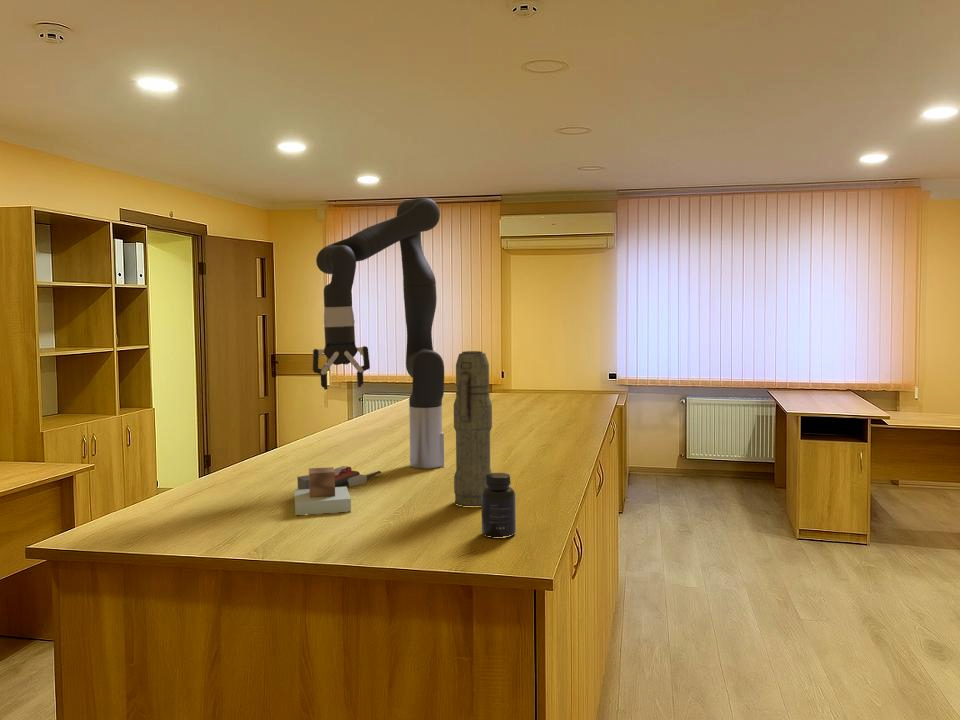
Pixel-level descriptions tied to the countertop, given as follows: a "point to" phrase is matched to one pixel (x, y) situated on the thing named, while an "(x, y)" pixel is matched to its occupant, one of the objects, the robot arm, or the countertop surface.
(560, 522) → the countertop surface
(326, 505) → the pedestal
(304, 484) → the charcoal block
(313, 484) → the walnut cube
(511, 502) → the supplement bottle
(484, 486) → the thermos
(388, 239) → the robot arm
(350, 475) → the walkie-talkie
